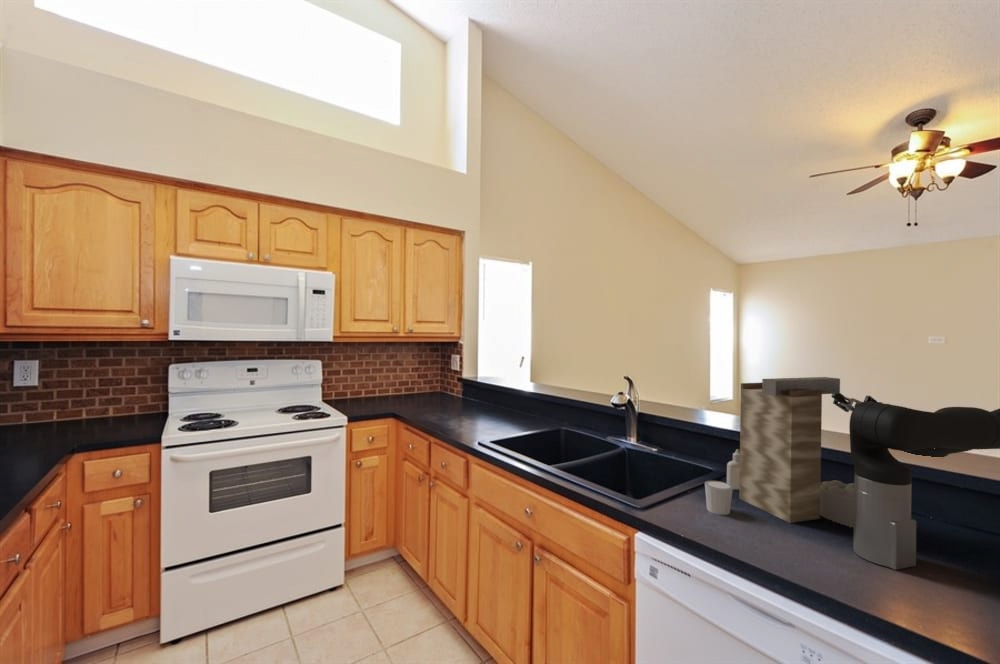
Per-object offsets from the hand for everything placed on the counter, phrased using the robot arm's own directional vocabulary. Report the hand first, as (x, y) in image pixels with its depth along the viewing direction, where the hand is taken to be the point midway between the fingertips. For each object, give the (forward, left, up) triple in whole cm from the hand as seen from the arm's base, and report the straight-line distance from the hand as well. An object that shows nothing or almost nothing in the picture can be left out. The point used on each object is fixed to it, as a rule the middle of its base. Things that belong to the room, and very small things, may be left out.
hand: (849, 396), depth 121 cm
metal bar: (0, +18, +1) cm, 18 cm away
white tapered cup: (+7, +38, -31) cm, 49 cm away
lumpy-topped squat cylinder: (-5, +9, -31) cm, 33 cm away
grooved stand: (+4, +21, -31) cm, 37 cm away
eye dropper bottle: (+19, +20, -31) cm, 41 cm away
